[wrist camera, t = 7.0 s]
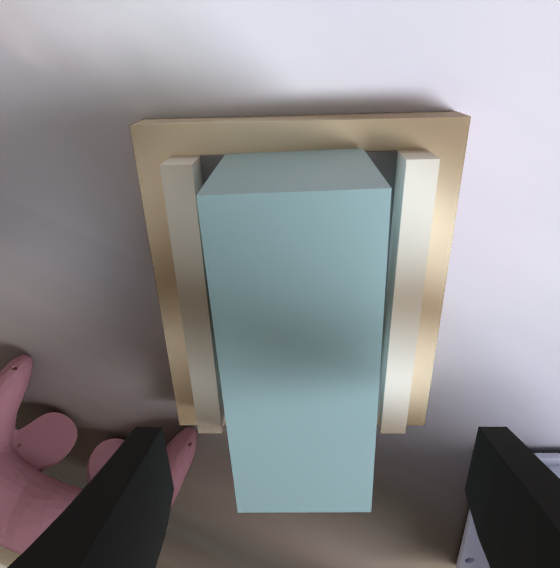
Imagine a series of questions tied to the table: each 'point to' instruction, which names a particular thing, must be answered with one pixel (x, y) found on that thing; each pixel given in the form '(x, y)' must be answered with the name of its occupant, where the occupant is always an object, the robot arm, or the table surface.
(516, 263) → the table surface
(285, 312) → the light blue rectangular block
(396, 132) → the display stand
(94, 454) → the pink knobbed toy
